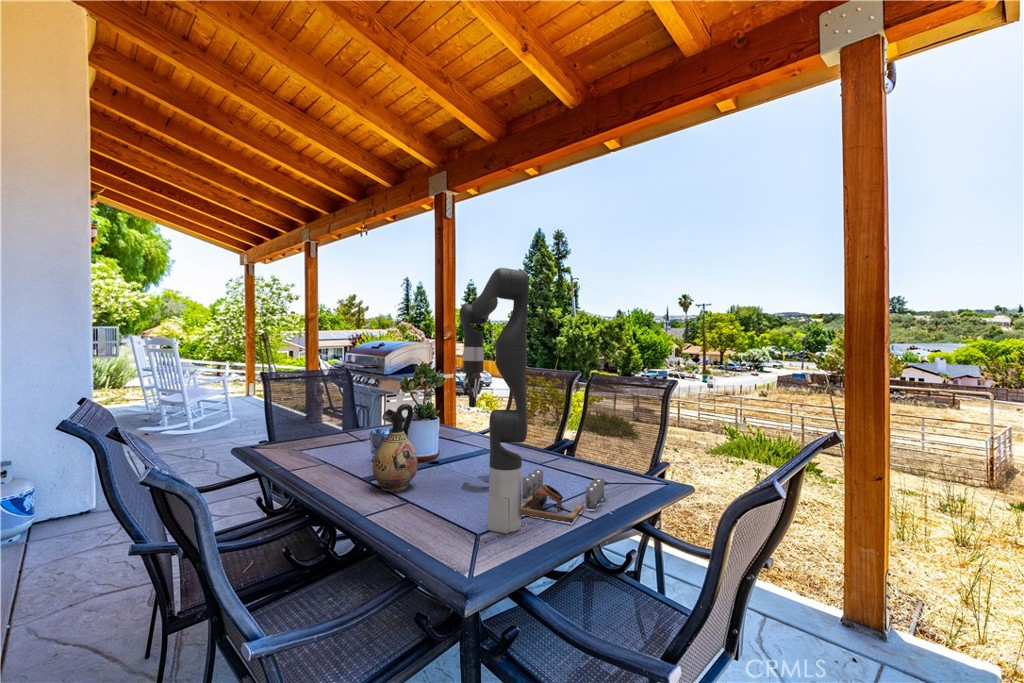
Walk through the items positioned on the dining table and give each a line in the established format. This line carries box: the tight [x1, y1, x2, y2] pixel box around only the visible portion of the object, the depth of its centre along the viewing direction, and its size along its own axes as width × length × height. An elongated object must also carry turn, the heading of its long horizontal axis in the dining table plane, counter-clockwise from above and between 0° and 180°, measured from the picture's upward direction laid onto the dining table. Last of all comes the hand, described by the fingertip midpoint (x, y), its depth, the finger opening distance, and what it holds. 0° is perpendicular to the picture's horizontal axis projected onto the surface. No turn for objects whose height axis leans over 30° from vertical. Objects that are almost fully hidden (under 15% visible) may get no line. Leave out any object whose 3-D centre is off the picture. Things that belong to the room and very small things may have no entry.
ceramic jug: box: [372, 403, 418, 493], centre depth 159 cm, size 17×15×30 cm
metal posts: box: [521, 468, 605, 509], centre depth 150 cm, size 14×26×7 cm, turn 65°
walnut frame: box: [521, 496, 585, 523], centre depth 138 cm, size 12×18×2 cm
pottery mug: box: [529, 484, 564, 511], centre depth 140 cm, size 12×10×8 cm
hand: (472, 407), depth 161 cm, fingers closed
